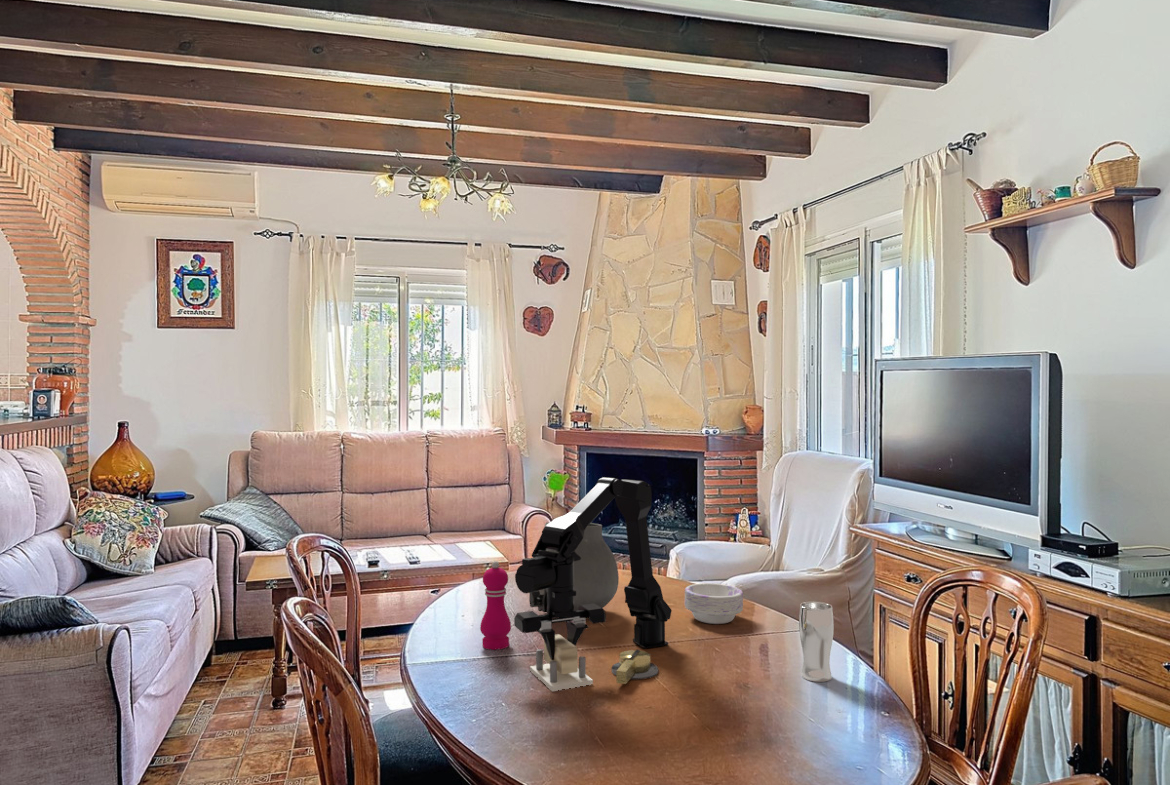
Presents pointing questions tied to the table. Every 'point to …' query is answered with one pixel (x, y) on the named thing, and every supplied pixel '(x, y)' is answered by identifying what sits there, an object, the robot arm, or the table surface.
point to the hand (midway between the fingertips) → (560, 658)
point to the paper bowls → (713, 602)
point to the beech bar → (563, 655)
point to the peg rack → (559, 674)
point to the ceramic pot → (593, 570)
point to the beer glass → (816, 640)
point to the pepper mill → (495, 609)
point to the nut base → (639, 675)
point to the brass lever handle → (631, 664)
